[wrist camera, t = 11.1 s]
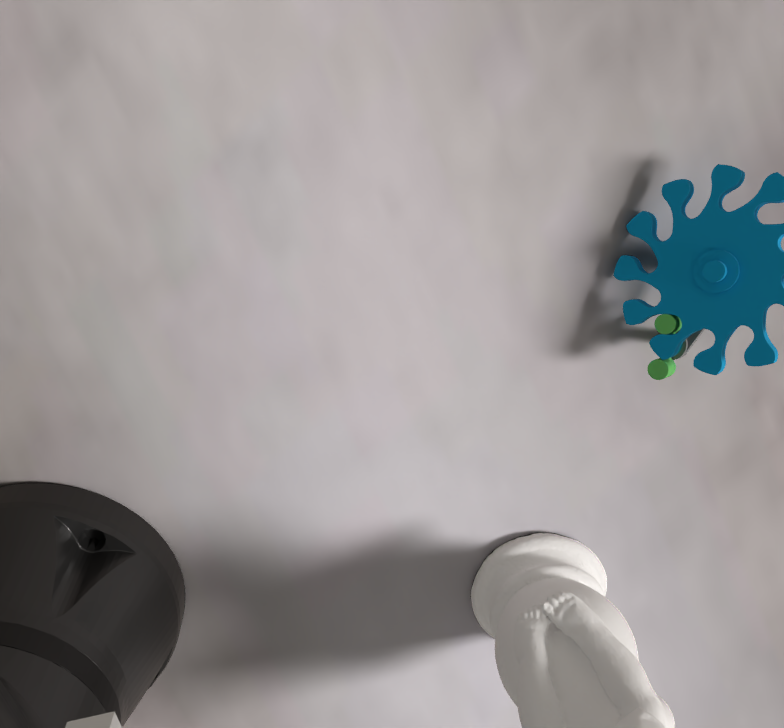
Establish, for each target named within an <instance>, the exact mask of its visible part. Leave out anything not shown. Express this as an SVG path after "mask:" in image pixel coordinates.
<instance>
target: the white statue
mask: <svg viewBox="0 0 784 728" xmlns="http://www.w3.org/2000/svg"><path fill="white" fill-rule="evenodd" d="M606 590H607V577H606V573H605V570H604V568H603V565H602V564H601V562H600V560H599V559H598V557H597V556H596V555H595V554H594V553H593V552H592V551H591V550H590V549H589V548H588V547H586V546H585V545H583V544H582V543H580V542H579V541H577V540H574V539H570V538H568V537H563V536H559V535H558V534H557V535H556V534H552V533H551V534H550V533H537V534H532V535H530V536H525V537H523V536H522V537H521V538H520V537H518V538H516V540H511V541H509V542H506V543H505V544H503V545H501V546H499V547H498V548H497V549H495V550H494V551H493V553H492V554H490V555H489V556H488V557H487V559H485V560H484V562H483V563H482V566H481V567H480V569H479V571H478V573H477V575H476V577H475V580H474V583H473V586H472V589H471V596H470V597H471V601H472V608H473V612H474V614H475V617H476V619H477V621H478V623H479V624H480V626H481V627H482V628H483V629H484V630H485V631H486V632H487V633H488V634H489V635H490V636H491V637H493V638H494V639H495V658H496V664H497V668H498V672H499V675H500V678H501V680H502V683H503V685H504V687H505V689H506V691H507V693H508V694H509V696H510V698H511V699H512V700H513V702H514V703H515V704H516V706H517V707H518V712H519V718H520V722H521V725H522V728H675V722H674V717H673V714H672V712H671V710H670V708H669V706H668V705H667V703H666V702H665V701H664V700H663V699H662V698H661V697H659V696H658V695H656V693H655V691H654V690H653V688H652V686H651V684H650V682H649V680H648V677H647V675H646V673H645V671H644V669H643V667H642V665H641V664H640V662H639V659H638V650H637V646H636V642H635V639H634V636H633V633H632V631H631V629H630V627H629V625H628V623H627V621H626V620H625V618H624V616H623V615H622V614H621V612H620V611H619V610H618V609H617V607H616V606H615V605H614V604H613V603H612V602H610V601H609V600H608V599H607V598H606V597H605V595H606Z"/></svg>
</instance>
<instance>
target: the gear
mask: <svg viewBox="0 0 784 728" xmlns="http://www.w3.org/2000/svg"><path fill="white" fill-rule="evenodd" d="M744 178H745V172H743V171H741V170H739V169H738V168H735V167H732V166H728V165H719V164H718V165H717V166H716V167H715V168H714V169H713V171H712V175H711V179H712V191H711V196H710V198H709V201H708V203H707V205H706V206H705V208H704V209H703V211H702V212H701V214H700V215H699V216H698V217H696V218H693V219H690V218H688V217H687V215H686V213H685V207H686V205H687V203H688V202H689V200H690V199H691V197H692V195H693V193H694V186H693V184H692V182H691V181H689V180H686V179H680V180H675V181H672V182H669V183H667V184H664V185H663V187H662V195H663V197H664V199H665V200H666V201H667V202H668V204H669V206H670V207H671V210H672V213H673V232H672V235H671V237H670V238H669V239H668V240H666V241H663V242H662V241H660V240H659V239H658V237H657V234H656V231H657V220H656V218H655V216H654V215H653V214H652V213H650V212H646V211H642V212H640V213H638V214H637V215H636V216H635V217H634V218H633V219H632V220H631V221H630V222H629V223H628V224H627V225H626V227H627V230H628V232H629V233H630V234H631V235H633V236H635V237H638V238H640V239H642V240H644V241H645V242H646V243H647V244H648V245H649V246H650V247H651V248H652V250H653V252H654V254H655V256H656V258H657V260H658V266H657V268H656V270H655V271H654V272H652V273H647V272H646V271H645V270H644V269H643V267H642V264H641V262H640V261H639V259H638V258H636V257H634V256H629V255H622V256H621V257H620V258H619V260H618V262H617V264H616V267H615V271H614V275H613V276H614V277H615V278H616V279H618V280H621V281H630V280H641V281H644V282H646V283H648V284H650V285H652V286H653V287H655V288H656V289H658V290H659V291H660V293H661V301H660V303H659V304H658V305H657V306H655V307H653V306H651V305H649V304H648V303H646V302H645V301H643V300H640V299H633V300H628V301H625V302H624V303H623V313H624V318H625V321H626V324H629V325H635V324H641V323H643V322H645V321H646V320H647V319H648V318H650V317H652V316H655V315H657V314H662V315H660V316H658V317H657V318H656V320H655V328H656V330H657V331H658V332H659V334H658V335H656V336H654V337H653V338H652V339H651V340H650V342H649V343H650V346H651V348H652V349H653V351H654V352H655V353H656V354H657V355H658V356H659V357H660V358H659V359H656V360H653V361H652V362H650V364H649V365H648V373H649V375H650V376H651V377H652V378H653V379H656V380H661V379H664V378H666V377H669V376H671V375H672V374H673V373H674V372H675V369H676V365H675V363H674V361H673V360H675V359H678V358H681V357H683V356H684V355H685V354H686V353H687V352H688V351H689V349H690V348H691V347H692V345H693V344H694V343H695V341H696V340H697V339H698V337H699V336H700V335H701V333H702V332H703V331H704V329H708V330H710V331H712V332H713V333H714V335H715V343H714V345H713V346H712V347H711V348H709V349H707V350H705V351H702V352H700V353H699V354H698V355H697V356H696V357H695V359H694V367H696V368H697V369H699V370H701V371H703V372H705V373H709V374H713V375H717V374H719V373H720V372H722V371H723V369H724V368H725V364H726V361H725V349H726V345H727V342H728V340H729V338H730V337H731V335H732V334H733V333H734V331H735V330H736V329H737V328H738V327H739V326H740V325H745V326H748V327H750V328H751V329H752V330H753V332H754V340H753V342H752V343H751V344H750V345H749V347H748V348H747V349H746V351H745V354H744V358H745V362H746V364H747V365H748V366H763V365H768V364H772V363H775V362H776V361H777V359H778V352H777V349H776V348H775V347H774V345H773V344H772V343H771V341H770V340H769V338H768V335H767V332H766V313H767V310H768V308H769V307H770V306H771V305H773V304H781V305H783V306H784V251H783V250H782V248H781V244H780V243H781V240H782V238H783V236H784V223H783V224H762V223H760V221H759V220H758V217H757V213H758V210H759V209H760V208H761V207H762V206H763V205H765V204H767V203H783V202H784V177H783V176H782V175H781V174H779V173H778V172H776V173H773V174H771V175H769V176H768V177H767V178H766V179H765V181H764V182H763V185H762V187H761V189H760V190H759V192H758V194H757V195H756V196H755V197H754V198H753V199H752V200H751V201H750V202H748V203H747V204H745V205H744V206H742V207H740V208H738V209H736V210H735V211H732V212H726V211H725V210H724V209H723V207H722V200H723V198H724V196H725V195H726V194H728V193H729V192H731V191H733V190H735V189H737V188H738V187H739V186H740V185H741V184H742V183H743V181H744Z"/></svg>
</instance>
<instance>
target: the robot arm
mask: <svg viewBox="0 0 784 728" xmlns="http://www.w3.org/2000/svg"><path fill="white" fill-rule="evenodd" d="M184 608H185V586H184V580H183V576H182V573H181V569H180V567H179V564H178V562H177V560H176V558H175V556H174V554H173V552H172V551H171V549H170V547H169V546H168V545H167V543H166V542H165V541H164V539H163V538H162V537H161V536H160V535H159V533H158V532H157V531H156V530H155V529H154V528H153V527H152V526H151V525H150V524H148V523H147V522H146V521H145V520H144V519H143V518H141V517H140V516H138V515H137V514H136V513H134V512H133V511H131V510H130V509H128V508H126V507H125V506H123V505H121V504H119V503H117V502H115V501H113V500H111V499H109V498H107V497H104V496H102V495H99V494H96V493H93V492H90V491H87V490H83V489H79V488H75V487H70V486H64V485H57V484H45V483H28V484H16V485H8V486H3V487H0V728H122V727H123V725H124V724H125V722H126V721H127V719H128V718H129V716H130V715H131V713H132V712H133V711H134V709H135V708H136V706H137V705H138V703H139V702H140V700H141V699H142V697H143V696H144V694H145V693H146V691H147V690H148V689H149V688H150V687H151V686H152V684H153V683H154V682H155V681H156V679H157V678H158V677H159V676H160V674H161V673H162V671H163V670H164V669H165V667H166V665H167V664H168V662H169V660H170V658H171V656H172V654H173V651H174V649H175V646H176V644H177V640H178V636H179V632H180V627H181V623H182V619H183V614H184Z"/></svg>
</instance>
